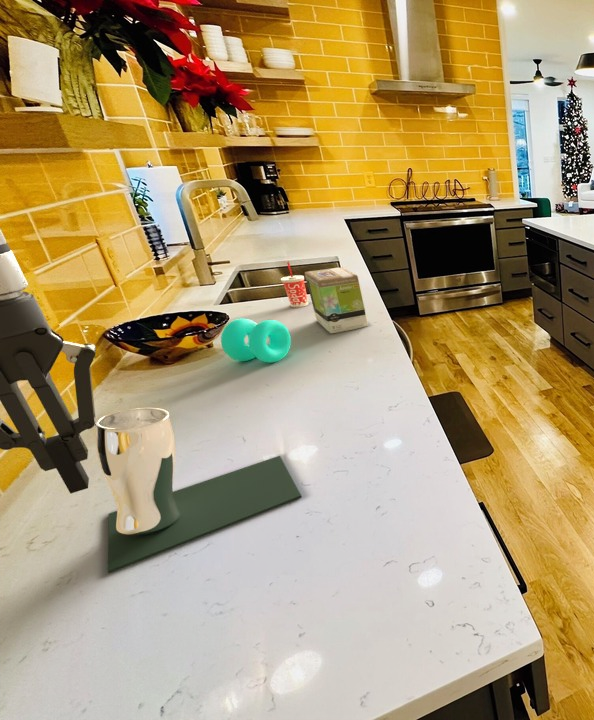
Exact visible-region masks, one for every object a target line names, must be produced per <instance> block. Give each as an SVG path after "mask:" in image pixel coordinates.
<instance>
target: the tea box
mask: <svg viewBox="0 0 594 720" xmlns="http://www.w3.org/2000/svg"><path fill="white" fill-rule="evenodd" d="M304 278H305V282H306V284H307V288H308V292H309V297H310V300H311V304H312V307H313V308H312V309H313V312H314V316H315V319H316V322H317V323H319V325H321V326H322V327H323V328H324V329H325V330H326V331H327V332H328V333H329V334H338V333H342V332H348V331H353V330H356V329H361V328H365V327H366V328H367V327H368V326H369V321H368V318H367V313H366V308H365V304H364V303H365V302H364V299H363V298H364V297H363V293H362V290H361V284H360V279H359V276H358V274H356V273H354V272H352V271H350V270H348V269H347V268H344V267H343V266H341V267H340V266H339V267H333V268H326V269H319V270H310V271H304Z"/></svg>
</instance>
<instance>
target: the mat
mask: <svg viewBox="0 0 594 720" xmlns="http://www.w3.org/2000/svg"><path fill="white" fill-rule="evenodd" d="M173 496H174V499H175V502H176V504H177V506H178V508H179V511H180V516H179V518H178V519H177V520H176V521H175V522H174V523H173V524H171V525H169V526H168V527H166V528H163V529H161V530H158V531H155V532H152V533H148V534H142V535H124V534H121V533H119V532H118V531H117V530H116V520H117V510H116V511H111V512H109V513H108V525H107V526H108V528H107V529H108V530H107V531H108V533H107V535H108V536H107V537H108V541H107V544H108V545H107V572H108V574H111V573H114V572H116V571H118V570H121V569H123V568H126V567H128V566H131V565H134V564H136V563H139V562H141V561H143V560H146V559H148V558H151V557H154V556H156V555H157V556H158V555H159V554H162V553H164V552H166V551H169V550H172V549H174V548H177V547H179V546H182V545H184V544H187V543H189V542H192V541H195V540H197V539H200V538H202V537H205V536H207V535H210V534H212V533H215V532H218V531H220V530H223V529H225V528H228V527H229V526H232V525H236V524H238V523H240V522H243V521H246V520H249V519H251V518H253V517H256V516H258V515H260V514H263V513H265V512H269V511H271V510H274V509H275V508H279V507H281V506H283V505H286V504H288V503H291V502H294V501H296V500H299V499H301V498H303V496H302V494H301V492H300V491H299V488H298V486H297V485H296V482H295V481H294V479H293V477H292V475H291V474H290V472H289V470H288V468H287V465H286V464H285V462H284V460H283V458H282V457H281V455H277V456H273V457H271V458H269V459H267V460H262V461H260V462H257V463H254V464H251V465H248V466H246V467H243V468H239V469H236V470H234V471H230V472H227V473H224V474H221V475H219V476H216V477H213V478H210V479H207V480H204V481H200V482H198V483H195V484H191V485H189V486H186V487H183V488H181V489H180V488H179V489H177V490H175V491H174V490H173Z"/></svg>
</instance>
